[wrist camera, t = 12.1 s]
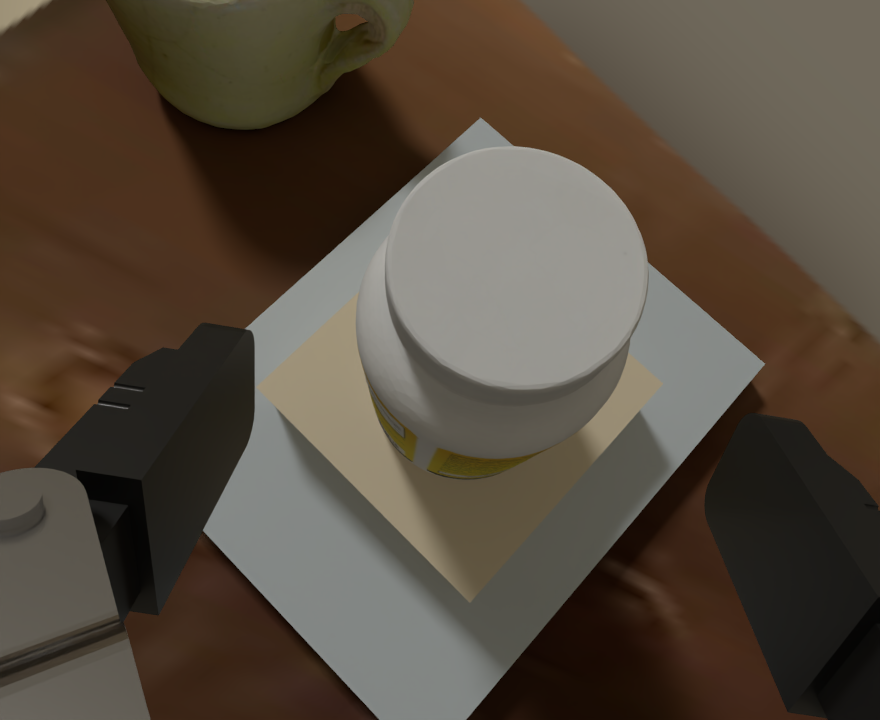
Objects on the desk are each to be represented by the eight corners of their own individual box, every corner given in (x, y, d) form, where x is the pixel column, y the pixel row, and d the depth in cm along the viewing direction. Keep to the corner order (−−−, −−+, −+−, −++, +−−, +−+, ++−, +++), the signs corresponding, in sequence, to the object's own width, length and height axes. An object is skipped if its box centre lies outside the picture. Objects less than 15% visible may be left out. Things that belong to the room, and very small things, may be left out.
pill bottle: (580, 357, 22) (749, 204, 11) (501, 515, 20) (609, 511, 10) (426, 275, 22) (449, 53, 12) (338, 424, 21) (270, 325, 10)
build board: (423, 752, 23) (428, 808, 18) (136, 446, 25) (78, 430, 20) (745, 372, 27) (811, 344, 23) (476, 137, 29) (489, 70, 25)
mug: (40, 69, 27) (-18, -197, 18) (196, -26, 32) (208, -266, 24) (280, 239, 28) (331, 64, 19) (392, 120, 33) (470, -58, 25)
